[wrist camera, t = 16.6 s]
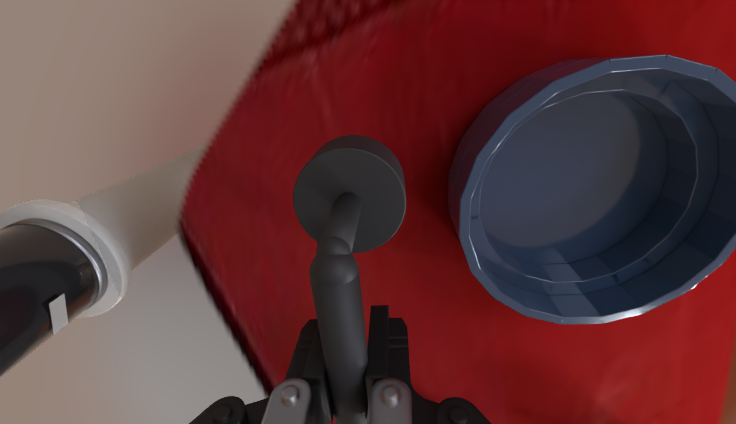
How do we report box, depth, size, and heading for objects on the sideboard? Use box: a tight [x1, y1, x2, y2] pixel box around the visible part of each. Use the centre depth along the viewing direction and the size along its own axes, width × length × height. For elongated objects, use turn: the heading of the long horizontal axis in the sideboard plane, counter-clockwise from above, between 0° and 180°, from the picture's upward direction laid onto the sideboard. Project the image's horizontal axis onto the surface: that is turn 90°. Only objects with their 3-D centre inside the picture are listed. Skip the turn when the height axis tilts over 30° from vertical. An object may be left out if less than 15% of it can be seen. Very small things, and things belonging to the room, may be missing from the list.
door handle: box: [293, 135, 406, 424], centre depth 14 cm, size 15×4×7 cm, turn 5°
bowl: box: [448, 54, 736, 324], centre depth 20 cm, size 15×15×5 cm
